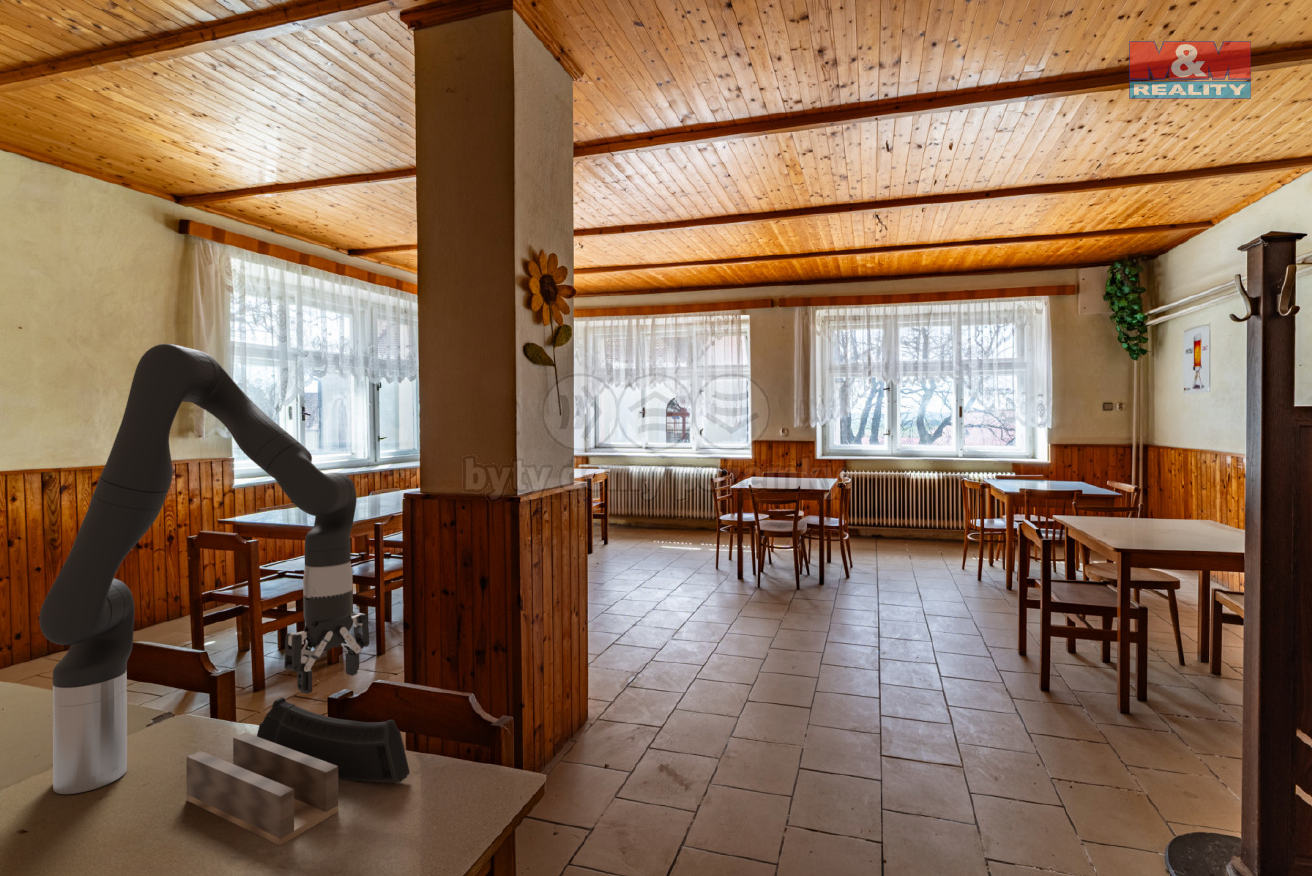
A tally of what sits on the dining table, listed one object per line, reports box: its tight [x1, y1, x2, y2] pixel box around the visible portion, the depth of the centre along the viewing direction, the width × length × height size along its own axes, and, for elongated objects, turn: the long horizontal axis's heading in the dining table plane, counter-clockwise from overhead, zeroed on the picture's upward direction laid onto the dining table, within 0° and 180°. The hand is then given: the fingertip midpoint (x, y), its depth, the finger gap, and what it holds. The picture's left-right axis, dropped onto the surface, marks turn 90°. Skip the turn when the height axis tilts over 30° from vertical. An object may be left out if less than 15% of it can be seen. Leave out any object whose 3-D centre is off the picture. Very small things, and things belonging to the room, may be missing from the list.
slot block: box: [186, 732, 339, 847], centre depth 98 cm, size 24×9×7 cm, turn 63°
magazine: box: [256, 697, 410, 784], centre depth 108 cm, size 17×3×30 cm
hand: (329, 682), depth 108 cm, fingers open, 8 cm apart
